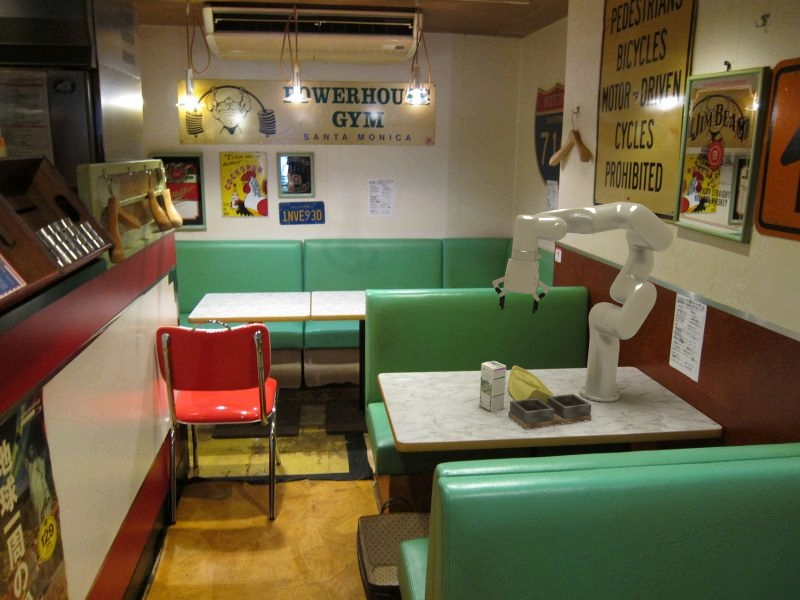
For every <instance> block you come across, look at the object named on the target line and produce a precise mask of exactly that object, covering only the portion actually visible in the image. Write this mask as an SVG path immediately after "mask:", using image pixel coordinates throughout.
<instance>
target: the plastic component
mask: <svg viewBox="0 0 800 600" xmlns="http://www.w3.org/2000/svg"><path fill="white" fill-rule="evenodd" d="M508 376H509V377H508V381H507V382H508V383H507V387H508V392H509V394H510V395H511V397H512V398H513V399H514V401H517V400H526V399H534V398H538V399H540V400H541V401H543V402H544V403H546V404H547V397H551V396H555V394H554V393H553V392H552V391H551V390H550V388H548V387H547V385H546V384H544V383H543V382H542V380H541V379H540V378H539V377H537V376H536V375H535V374H533V373H531V372H530V371H528V370H527V369H524V368H523V367H520V366H519V365H513V366H512V367H511V369H510V372H509V375H508Z"/></svg>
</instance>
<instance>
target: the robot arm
mask: <svg viewBox="0 0 800 600" xmlns="http://www.w3.org/2000/svg"><path fill="white" fill-rule="evenodd" d="M615 230H616V231H617V230H626V231H625V238H626V241H627V242H626V243H627V247H628V256H627V259H626V261H625V263H624V265H623V267H622V268H621V270H620V272H619V273H618V274H617V276H616V278H615V279H614V280H613V283H612V284H611V286H610V288H609V295H610V298H611V299H612V300H613V301H615V302H616V303H619V304H621V305H622V307H621V306H619V305H617V304H614V303H610V302H605V301H602V302H598V303H596V304H594V306H593V307H591V309H590V311H589V314H588V326H589V327H588V328H589V343H588V344H589V346H588V354H587V356H588V357H587V366H586V367H587V368H586V376H585V377H586V378H585V386H583V387H582V388H580V390H579V393H580V395H581V397H583V396H584V397H583V398H585V399H587V398H588V399H587V400H590V401H593V400H595V401H594V402H599V401H600V402H599V403H601V402H602V403H610V402H611V403H612V402H615V401H618V400H619V398H620V393H619V392H618V391H620V390H626V389H628V384H627V383H626V382H625V383H624V382H623V383H619V381H617V375H618V364H619V355H620V354H619V353H620V340H624V341H625V340H629V339H631V338H633V336H635V335H636V334H637V332H638V331H639V330H640V328H641V327H642V325H643V324H644V322H645V320H646V319H647V317H648V315H649V314H650V312H651V311H652V309H653V308H654V306H655V304H656V301H657V295H658V293H657V289H656V287H655V285H654V284H653V283H652V282H651V281H649V280H648V279H649V277H650V275H651V273H652V271H653V270H654V264H655V258H654V252H656V253H659V252H660V253H661V252H664V251H666V250H668V249H669V248H670V247H671V245H672V244H673V242H674V241H673V240H674V236H673V235H674V234H673V232H672V229H671V228H670V226H669V225H667V224H666V223H665V222H664V221H663V220H662V219H661V218H659V216H657V215H656V213H654V212H653V211H652V210H651V209H649V208H648V207H646V206H645V205H643V204H642V203H637V202H628V201H615V202H610V203H605V204H604V203H603V204H598V205H597V204H596V205H591V206H585V207H574V208H564V209H553V210H547V211H541V212H539V213H535V214H518V215H517V216H516V217H515V221H514V230H513V239H512V247H511V248H512V249H511V256H510V257H509V258H508V261H507V265H506V270H505V275H504V276H502V277H500V278H497V279H495V280H494V279H493V280H492V285H493V288H494V291H495V292H496V293H497V294H498V296H499V302H498V303H499V304H498V306H499V307H500V310H501V311H502V310H504V309H505V304H506V303H505V302H506V294H507V293H508V292H510V293H514V294H515V293H517V294H525V295H532V297H533V302H532V303H533V304H532V311H531V312H532V314H534V315H535V314H536V312H538V310H539V309H538V308H539V303H540V301H541V300H542V299H543V298H545V296H546V295H547V293H548V292H549V291H550V287H549V285H546V284H545V283H544V282H542V281H541V280H540V279H539V278H540V277H539V276H540V262H539V261H538V259H542V257H543V254H542V253H539V252H538V247H539V240H544V241H548V242H559V241H561V240H562V239H564V238H565V237H566V236H567V234H578V235H594V234H599V233H604V232H605V233H606V232H608V231H609V232H610V231H615ZM501 283H503V289H501V288H500V287H499V284H501ZM539 287H540V288H541V289H543V291H542V292H541V293H539V294H538V292H537V291H538V288H539Z"/></svg>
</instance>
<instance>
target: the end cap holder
mask: <svg viewBox="0 0 800 600" xmlns="http://www.w3.org/2000/svg"><path fill="white" fill-rule="evenodd" d="M509 402H510V403H509V411H508V414H507V417H508V416H509V417H510V418H509V417H508V418H509V419H511V418H512V419H513V420H514V422H515V423H516V422H517V423H518V424H517V423H516V424H517V425H518V426H520V425H521V426H522V427H521V426H520V427H521V428H523V430H528V429H527V428H531V429H536V428H535V427H539V428H543V427H542V426H546V427H550V426H549V425H553V426H556V425H555V424H561V425H563V424H562V423H568V422H575V423H578V422H577V421H583V422H585V421H584V420H590V421H592V415H591V413H592V404H591V403H589V402H588V401H586V400H584V399H582V398H581V397H579V396H578V395H576V394H575V393H569V394H560V395H554V396H551V397H547V404H546V403H544V402H543V401H541V400H540V399H538V398H532V399H526V400H517V401H516V400H511V401H509ZM512 419H511V420H512ZM568 424H569V423H568Z"/></svg>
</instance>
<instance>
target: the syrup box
mask: <svg viewBox="0 0 800 600" xmlns="http://www.w3.org/2000/svg"><path fill="white" fill-rule="evenodd" d="M480 367H481V369H480V386H479V387H480V388H479V407H481V408H483V409H484V410H487V411H489V412H491V411H492V412H496V411H495V410H497V411H500V410H503V409H502V408H504V409H505V394H506V391H505V389H506V375H507V365H506V364H503V363H501V362H498V361H496V360H490V361H485V362H482V363H481V366H480ZM499 409H500V410H499Z"/></svg>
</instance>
